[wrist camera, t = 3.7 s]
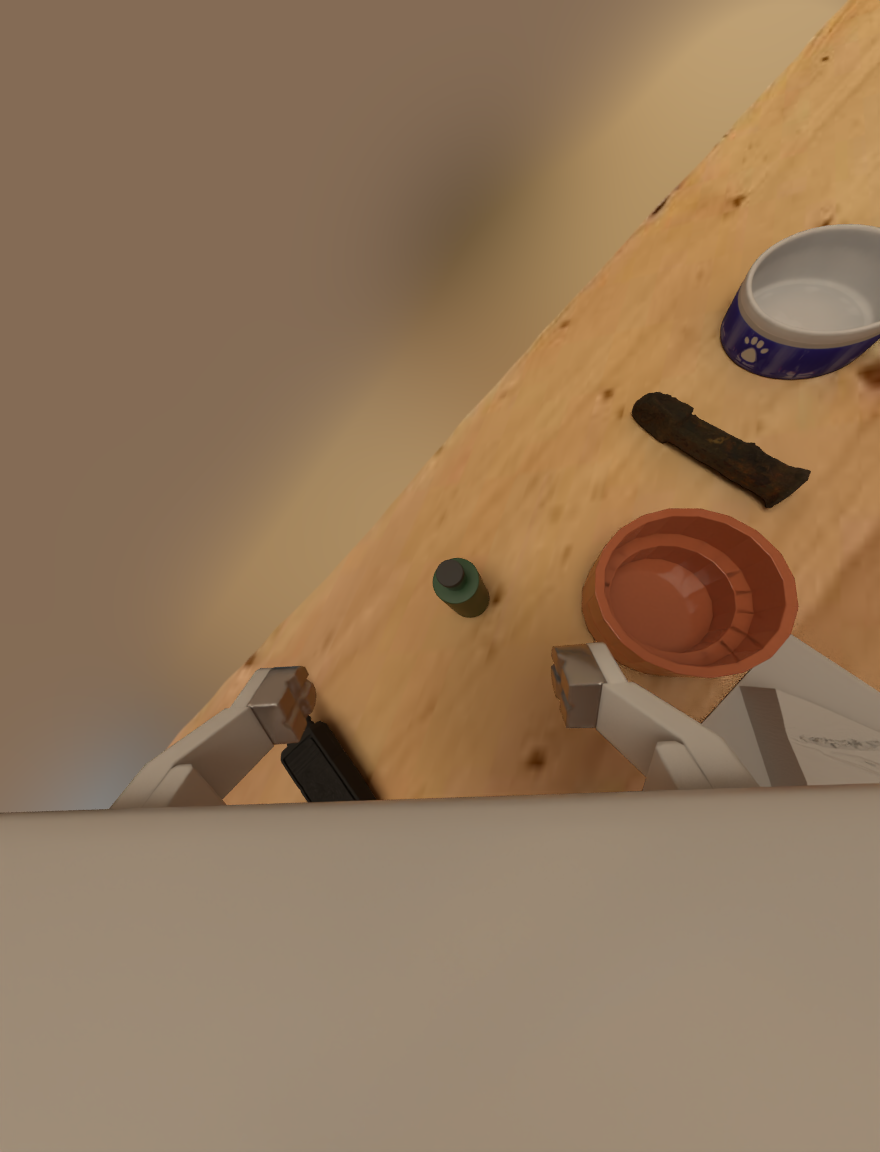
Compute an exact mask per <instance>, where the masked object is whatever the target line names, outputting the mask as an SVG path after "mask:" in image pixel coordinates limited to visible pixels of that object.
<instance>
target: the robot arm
mask: <svg viewBox="0 0 880 1152" xmlns="http://www.w3.org/2000/svg"><path fill="white" fill-rule="evenodd" d="M551 656H552V659H553V662H554V664H553V665H552V666H551V679H552V685H553V690H554V693H555V696H556V697H557V698H558V699H559V700H560V712H561V715H562V718H563V721H564V724H565V726H566V728H596V730H598V731H599V732H600V733H601V734H602V735H603V736H604V737H605V738H606V739H607V740H608V741H609V742H610V743H611V744H612V745H613V746H614V747H615V748H616V749H617V750H618V751H619V752H620V753H622V754H623V755H624V756H625V757H626V758H627V759H628V760H629V761H630V762H631V763H632V764H633V765H634V766H635V767H636V768H637V769H638V770H639V771H640V772H641V773H642V774H643V775H644V776H645V777H646V780H645V783H644V787H643V790H642V791H630V792H601V793H571V794H542V795H513V796H484V797H455V798H426V799H397V800H367V801H338V802H308V803H279V804H249V805H226V804H225V802H224V801H223V800H222V799H223V798H224V797H225V796H226V795H227V794H228V793H229V792H230V791H231V790H232V789H233V788H234V787H235V786H236V785H237V784H238V783H239V782H240V781H241V780H242V779H243V778H244V777H245V776H246V774H247V773H248V772H249V771H250V770H251V769H252V768H253V767H254V766H255V765H256V764H257V763H258V762H259V761H260V760H261V759H262V758H263V757H264V756H265V755H266V754H267V753H268V752H269V751H270V750H271V749H272V748H273V747H274V745H275V744H287V743H299V741H300V739H301V737H302V734H303V732H304V730H305V728H306V725H307V722H306V719H305V718H306V717H307V716H308V715H309V714H311V713H312V711H313V709H314V707H315V704H316V689H315V687H314V684H313V683H312V682H310V681H309V680H307V677H308V675H309V674H308V672H307V670H306V668H305V667H303V666H292V667H274V668H260V669H259V670H257V671H255V673H254V674H253V676H252V677H251V679H250V680H249V681H248V683H247V684H246V686H245V687H244V689H243V690H242V691H241V693H240V694H239V696H238V697H237V699H236V700H235V701H234V703H233V704H232V706H231V707H230V708H226V709H224V710H222V711H221V712H220V713H218V714H217V715H215V716H214V717H212V718H211V719H210V720H208V721H207V722H205V723H204V724H202V725H201V726H200V727H198V728H197V729H195V730H194V731H192V732H191V733H190V734H188V735H187V736H185V737H184V738H182V739H181V740H180V741H178V742H177V743H175V744H174V745H172V746H171V747H170V748H168V749H167V750H165V751H164V752H162V753H161V754H160V755H158V756H157V757H155V758H154V759H152V760H151V761H150V762H148V763H147V764H146V765H144V767H143V768H142V769H141V770H140V772H139V773H138V774H137V775H136V776H135V778H134V779H133V780H132V781H131V783H130V784H129V785H128V786H127V787H126V789H125V790H124V791H123V792H122V794H121V795H120V796H119V797H118V799H117V800H116V801H115V802H114V804H113V805H112V806H111V807H110V808H109V809H99V810H73V811H72V810H70V811H42V812H11V813H0V1152H880V783H864V784H836V785H807V786H778V787H760V786H759V784H758V783H757V782H756V780H755V779H754V778H753V776H752V775H751V774H750V772H749V771H748V770H747V768H746V767H745V766H744V764H743V763H742V762H741V761H740V759H739V758H738V757H737V755H736V754H735V753H734V751H733V750H732V749H731V747H730V746H729V745H728V743H727V742H726V741H725V739H724V738H723V737H721V736H720V735H718V734H717V733H715V732H713V731H712V730H710V729H709V728H707V727H705V726H704V725H702V724H701V723H699V722H697V721H696V720H694V719H693V718H691V717H689V716H688V715H686V714H684V713H683V712H681V711H680V710H678V709H676V708H675V707H673V706H672V705H670V704H668V703H667V702H665V701H664V700H662V699H660V698H659V697H657V696H655V695H654V694H652V693H651V692H649V691H647V690H646V689H644V688H643V687H641V686H639V685H638V684H636V683H635V682H628V681H627V679H626V678H625V676H624V674H623V673H622V671H621V669H620V667H619V666H618V664H617V662H616V661H615V659H614V657H613V656H612V654H611V652H610V651H609V649H608V647H607V646H606V644H605V643H603V642H596V643H586V644H576V645H564V646H553V647H552V654H551Z"/></svg>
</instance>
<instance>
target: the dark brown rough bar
mask: <svg viewBox="0 0 880 1152" xmlns="http://www.w3.org/2000/svg"><path fill="white" fill-rule="evenodd" d="M693 409H694V408H693V407H691V406H689V405H688V404H686V403H683V402H681V401H679V400H677V398H674V397H671V395H668V394H662V393H661V392H655V393H648V394H646V395H644V396H643V397H642V398H640V399H639V400H637V401H636V403H635V404H634V406H633V409H632V415H633V417H634V419H635V420H636V421H637V422H638V423H639V424H640V425H641V426H642V427H643V428H644V429H645V430H646V431H648V432H650V433H651V434H652V435H653V436H654V437H655V438H656V439H657V440H659V441H660V442H661V443H664V442H667V441H668V442H670V443H672V444H674V445H676V446H678V447H679V448H681V449H682V450H684V451H685V452H687V453H688V454H690V455H691V456H693V457H694V458H696V460H698V461H701V462H703V463H705V464H707V465H709V466H710V467H712V468H714V469H715V470H717V471H718V472H720V473H721V474H722V475H724V476H726V477H728V478H729V479H730V480H731V481H733V482H736V483H738V484H740V485H742V486H743V487H744V488H747V489H749V490H751V491H752V492H754V493H756V494H757V495H759V496H760V497H762V498H763V499H764V500H765V502H766V507H767V508H771V507H773V506H774V505H776V504H778V503H779V502H781V501H782V500H784V499H785V498H787V497H789V496H790V495H791V494H792V493H793V492H795V491H796V490H797V489H798V488H799V487H800V486H801V485H802V484H804V483H805V482H806V481H807V480H808V477H809V475H810V473H811V471H809V470H805V469H802V468H795V467H792V466H788V465H786V464H784V463H783V462H781V461H779V460H777V459H775V458H773V457H771V456H769V455H767V454H766V453H765V452H763V451H762V450H761V449H760V447H758V446H756V445H755V443H746V442H743V441H742V440H740V439H738V438H736V437H734V436H732V435H730V434H728V433H726V432H725V431H723V430H721V429H719V428H717V427H715V426H713V425H711V424H709V423H707V422H705V421H704V420H701V419H699V418H698V417H697V416H696V415H692V412H693Z"/></svg>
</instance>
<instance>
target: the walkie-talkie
mask: <svg viewBox="0 0 880 1152" xmlns="http://www.w3.org/2000/svg"><path fill="white" fill-rule="evenodd" d="M305 719H306V722H307V725H306V728H305V731H304V732H303V734H302V737H301V739H300V741H299V743H287V748H285V749H284V750H283V751H282V753H281V762H282V764H283V766H284V767H285V769H286V770H287V772H288V773H289V775H290V776H291V778H292V779H293V781H294V782H295V784H296V785H297V787H298V788H299V789H300V790H301V793H302V794H303V796H304V797H305V799H306V800H307V802H338V801H367V800H377V799H376V798H375V796H374V795H373V793H372V792H371V790H370V788H369V787H368V785H367V784H366V782H365V781H364V779H363V778H362V776H361V774H360V773H359V771H358V770H357V768H356V767H355V765H354V764H353V762H352V761H351V759H350V758H349V757H348V755H347V754H346V752H345V751H344V750H343V748H342V746H341V745H340V743H339V742H338V740H337V739H336V737H335V736H334V734H333V733H332V731H331V730H330V728H329V727H328V726H327V724H326V723H324V722H322V721H318V722H317V723H314V722H313V721H311V717H310V716H309V715H308V716H307V717H306V718H305Z"/></svg>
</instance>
